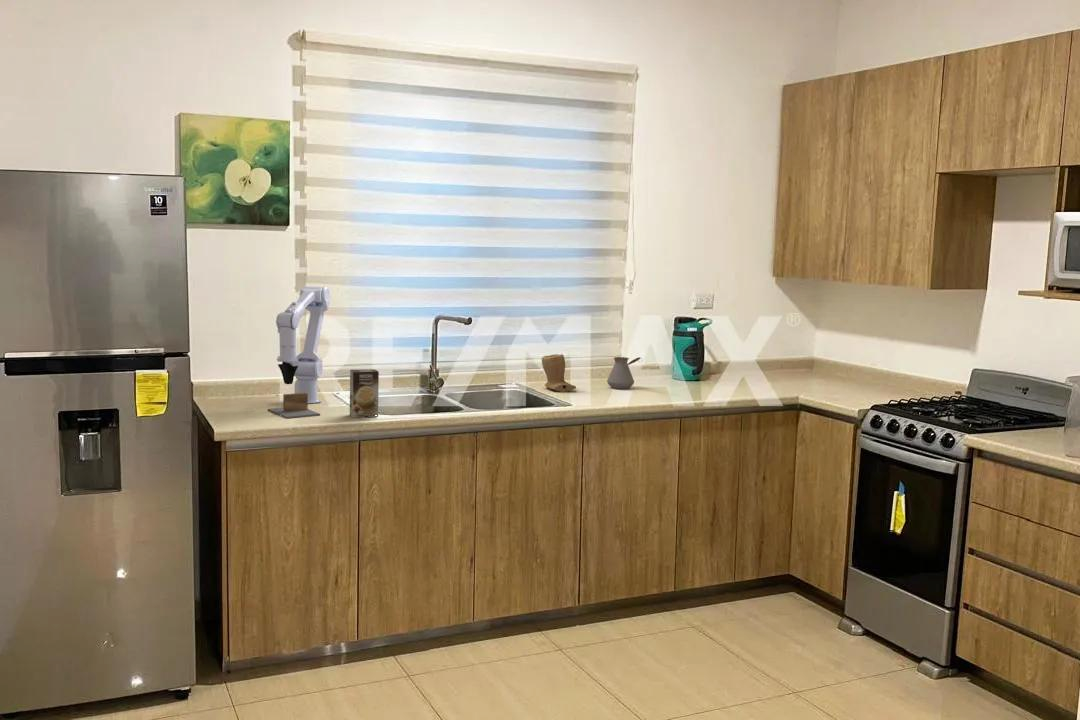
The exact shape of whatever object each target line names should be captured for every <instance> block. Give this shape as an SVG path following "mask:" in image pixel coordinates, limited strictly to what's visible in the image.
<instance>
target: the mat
mask: <svg viewBox="0 0 1080 720" xmlns="http://www.w3.org/2000/svg"><path fill="white" fill-rule="evenodd" d="M267 411H268V412H270V411H271V412H270V413H273V414H275V413H276V414H275V415H278V416H280V415H281V417H282V416H283V418H285V419H287V418H289V419H296V418H307V417H318V416H321V413H319V412H317V411H315V410H312V409H309V408H308V410H303V411H293V412H285V411H283V407H272V408H267Z"/></svg>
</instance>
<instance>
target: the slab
mask: <svg viewBox="0 0 1080 720" xmlns="http://www.w3.org/2000/svg"><path fill="white" fill-rule="evenodd" d="M282 395H283V396H282V398H283V400H282V401H283V402H282V403H283V411H285V412H293V411H303V410H308V409H309V408H308V406H309V405H308V393H305V392H304V393H295V392H293V393H284V394H282Z"/></svg>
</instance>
